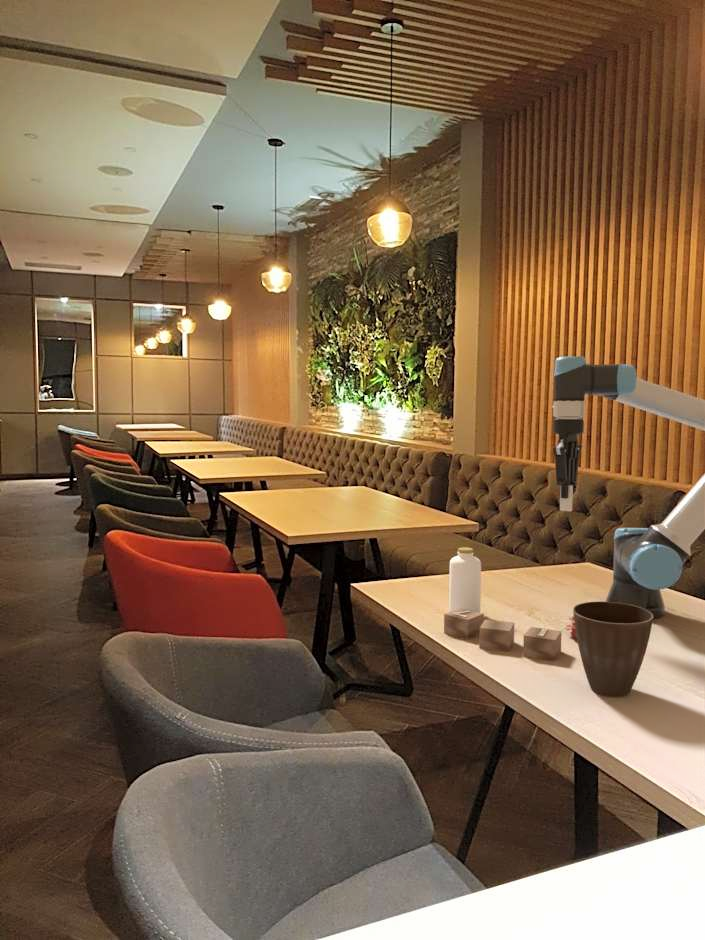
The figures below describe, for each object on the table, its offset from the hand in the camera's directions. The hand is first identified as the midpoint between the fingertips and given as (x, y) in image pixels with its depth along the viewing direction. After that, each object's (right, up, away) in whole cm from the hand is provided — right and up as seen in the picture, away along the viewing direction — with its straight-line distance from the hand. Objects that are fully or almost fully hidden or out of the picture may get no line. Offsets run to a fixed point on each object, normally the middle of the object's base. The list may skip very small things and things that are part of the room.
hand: (566, 510), depth 188 cm
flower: (+1, -31, -9) cm, 32 cm away
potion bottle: (-24, -29, +10) cm, 39 cm away
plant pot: (-3, -34, -42) cm, 54 cm away
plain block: (-21, -31, -15) cm, 40 cm away
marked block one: (-11, -32, -21) cm, 39 cm away
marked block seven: (-27, -30, -5) cm, 41 cm away
